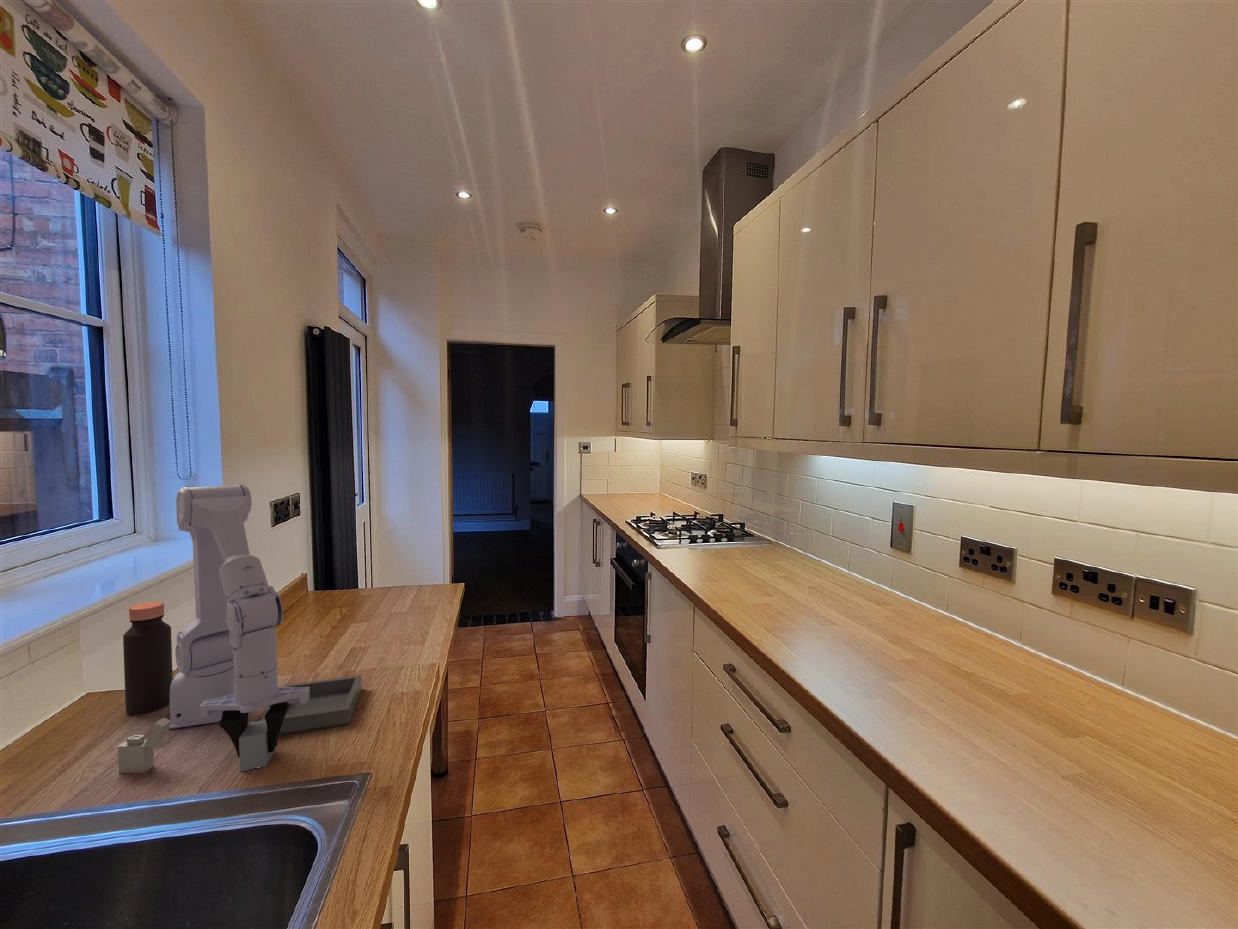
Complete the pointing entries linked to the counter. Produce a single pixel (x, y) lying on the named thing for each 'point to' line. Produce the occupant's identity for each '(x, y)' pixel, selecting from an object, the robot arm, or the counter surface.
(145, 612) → the bottle
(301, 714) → the dark grey square tray
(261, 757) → the tall grey cuboid
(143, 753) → the lighter
